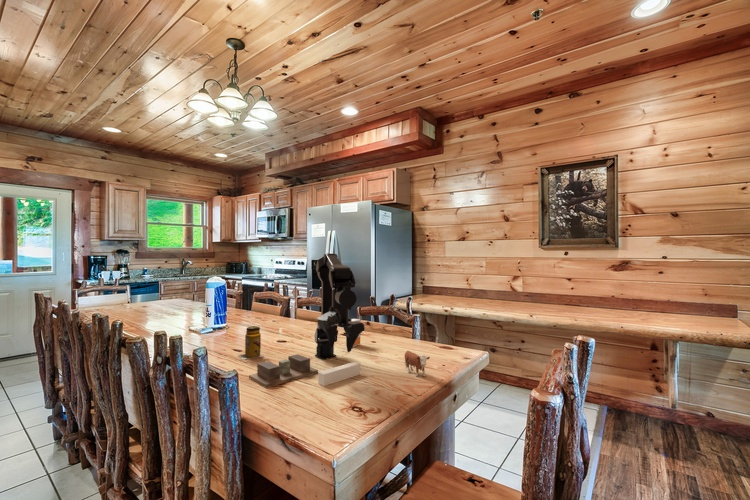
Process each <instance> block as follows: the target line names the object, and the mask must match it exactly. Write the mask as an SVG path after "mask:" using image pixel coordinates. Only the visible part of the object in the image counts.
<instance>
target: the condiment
mask: <svg viewBox="0 0 750 500" xmlns="http://www.w3.org/2000/svg"><path fill="white" fill-rule="evenodd" d="M245 330H246V332H245V339H244V340H245V341H244V342H245V343H244V345H245V346H244V351H245V353H244V354H238V355H237V356H238V357H239V359H240V360H241V361H242V360H243V361H244V360H250V359H259V358H263V357H264V356H263V355H262V354H261V343H262V342H261V339H262V337H261V335H262V334H261V333H260V331H261V327H260V326H257V325H256V326H255V325H252V326H248V327H246V329H245Z"/></svg>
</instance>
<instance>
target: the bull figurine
mask: <svg viewBox="0 0 750 500" xmlns="http://www.w3.org/2000/svg"><path fill="white" fill-rule="evenodd" d="M430 358H431V357H430V356H426V355H425V354H416V353H415V352H412V351H409V350H406V352H405V353H404V365H405V368H406V369H407V373H408V374H411V371H414V369H413V368H415V371H416V373H415V377H417V378H418V377H419V370H420V371H422V376H423V377H424V378H426V377H427V375H426V372H425V371H426V370H425V368H426V367H425V366H426V365H427V364H426V363H427V360H429V359H430Z"/></svg>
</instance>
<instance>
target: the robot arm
mask: <svg viewBox="0 0 750 500" xmlns="http://www.w3.org/2000/svg"><path fill="white" fill-rule="evenodd" d="M315 269H316V273H317V277H318V279H319V280H320V282H321V289H320V291H321V298H320V301H321V303H320V304H321V305H320V306H321V307H320V308H321V313H320V316H318V317H317V318H316V320H317V325H316V328H315V333H314V342H315V343H316V344H317V345H316V348H315V349H316V352H315V353H316V354H315V355H314V357H315V358H320V359H322V360H327V359H331V358H334V357H337V354H335V352H334V351H335V349H334V348H335V347H334V345H335V343H337V342H338V335H339V330H338V327H339V328H343V331H344V332H343V335H344V336H345V341H346V340H347V346H346V351H347V353H351V351H352V349H353V348H354V347H353V345H354V343H355V341H356V339H357V337H358V336H359V334H360V335H361V334H362V333H363V332H365V324H364V322H362V321H361V322H357V321H354V322H350V321H351V319H352V318H351V317H350V315H349V314H350V310H351V311H352V307H354V306H355V305H356V302H357V300H358V299H357V295H356V293H355V292H354V291H353V290H352V288H356V286H355V285H356V279H355V274H354V273H353V270H351V268H350V267H349V266H348V265H346V264H345V265H343V264H342V262H341V260H340V259H339V257H338V254H337V253H332V252H331V253H324V254H323V256H322V257H320V258H318V260H317V261H316V266H315ZM348 322H349V323H348Z"/></svg>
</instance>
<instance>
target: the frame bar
mask: <svg viewBox="0 0 750 500" xmlns="http://www.w3.org/2000/svg"><path fill="white" fill-rule="evenodd" d="M317 374H318V375H317V377H318V378H317V381H318V382H317V383H318V385H320V386H322V387H326V386H329V385H331V384H334V383H338V382H340V381H341V382H342V381H344V380H346V379H349V378H352V377H355V376H359V375H361V363H359V362H357V361H352V362H348V363H345V364H343V365H339V366H335V367H331V368H327V369H325V370H324V369H323V370H321V371H318V373H317Z"/></svg>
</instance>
